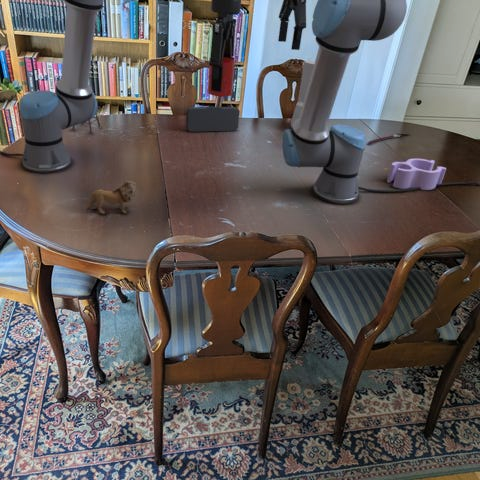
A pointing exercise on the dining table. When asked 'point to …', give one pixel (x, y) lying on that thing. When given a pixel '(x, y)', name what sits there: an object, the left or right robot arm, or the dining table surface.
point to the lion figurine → (114, 196)
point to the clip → (415, 174)
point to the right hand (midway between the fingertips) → (288, 45)
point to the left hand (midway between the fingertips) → (220, 87)
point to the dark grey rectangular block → (212, 119)
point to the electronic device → (303, 88)
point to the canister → (223, 78)
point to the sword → (386, 138)
